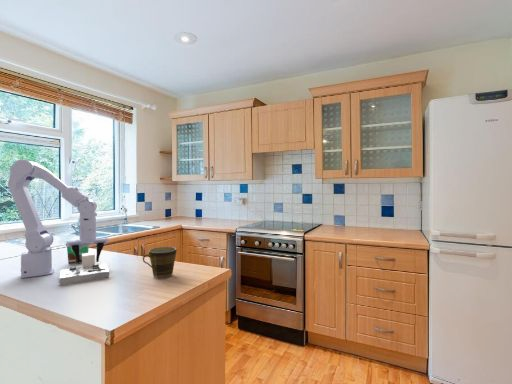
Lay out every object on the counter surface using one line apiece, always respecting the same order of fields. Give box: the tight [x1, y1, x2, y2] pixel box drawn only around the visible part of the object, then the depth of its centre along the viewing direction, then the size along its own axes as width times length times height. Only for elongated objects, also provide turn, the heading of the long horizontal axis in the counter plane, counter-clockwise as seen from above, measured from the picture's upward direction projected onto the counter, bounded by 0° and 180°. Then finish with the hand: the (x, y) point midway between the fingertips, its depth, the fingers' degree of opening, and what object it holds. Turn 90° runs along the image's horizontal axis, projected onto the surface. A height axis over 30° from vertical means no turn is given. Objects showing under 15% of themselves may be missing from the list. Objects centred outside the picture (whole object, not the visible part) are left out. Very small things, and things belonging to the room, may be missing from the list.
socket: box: [59, 263, 110, 286], centre depth 106 cm, size 15×12×3 cm
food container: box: [65, 242, 90, 265], centre depth 131 cm, size 12×6×10 cm, turn 179°
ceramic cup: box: [142, 246, 177, 280], centre depth 106 cm, size 13×10×10 cm
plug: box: [81, 251, 96, 267], centre depth 116 cm, size 4×6×6 cm
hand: (88, 262), depth 116 cm, fingers open, 6 cm apart
